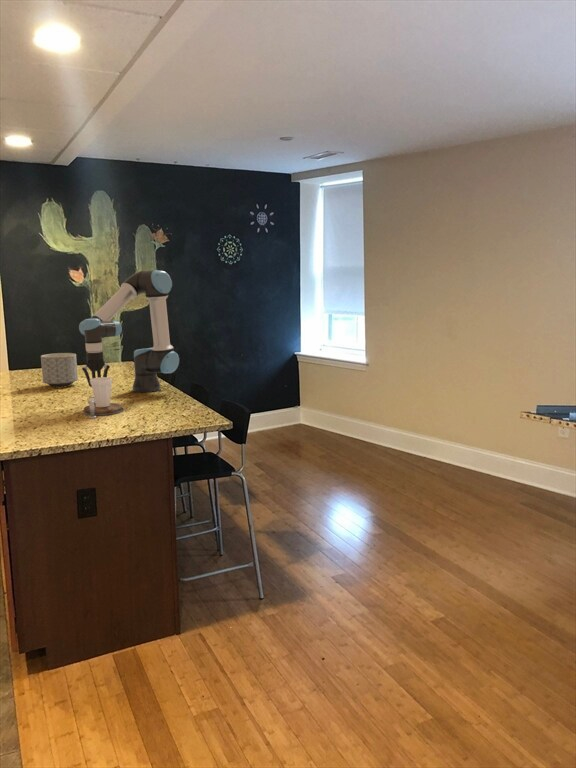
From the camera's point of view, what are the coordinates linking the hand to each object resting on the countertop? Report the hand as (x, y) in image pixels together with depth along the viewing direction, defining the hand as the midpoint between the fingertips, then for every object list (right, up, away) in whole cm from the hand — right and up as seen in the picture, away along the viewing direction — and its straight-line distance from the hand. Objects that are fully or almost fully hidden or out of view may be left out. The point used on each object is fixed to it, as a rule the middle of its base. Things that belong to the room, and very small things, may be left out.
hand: (98, 400), depth 290 cm
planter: (-41, +6, +62) cm, 74 cm away
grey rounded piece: (+4, -7, -21) cm, 22 cm away
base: (+5, -5, -9) cm, 11 cm away
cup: (+5, -3, -9) cm, 11 cm away
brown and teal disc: (+4, -4, -7) cm, 9 cm away
